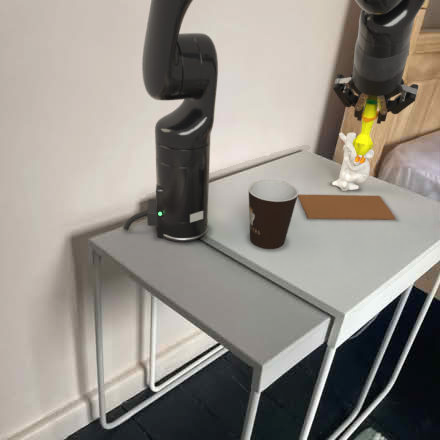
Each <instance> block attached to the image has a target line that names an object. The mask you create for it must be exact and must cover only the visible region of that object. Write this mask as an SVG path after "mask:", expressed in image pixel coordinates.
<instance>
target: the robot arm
mask: <svg viewBox="0 0 440 440" xmlns="http://www.w3.org/2000/svg"><path fill="white" fill-rule="evenodd" d="M193 1H194V0H150V4H149V5H150V6H149V12H148V17H147V23H146V29H145V34H144V42H143V48H142V57H141V58H142V59H141V72H142V81H143V86H144V88H145V91H146V93H147V94H148V95H149V97H150V98H151V99H153V100H155V101H162V102H164V101H165V102H166V101H167V102H169V101H179V100H182V102H181V103H180V104H179V105H178V107H177V108H176V109H174V110H173V111H171V112H169V113H168V114H165V115H164V116H162V117H161V118H159V119H158V120H157V122H155V126H154V142H155V143H154V144H155V145H154V146H155V175H156V177H155V179H156V184H155V199H154V198H153V199H149V198H148V202H147V209H146V210H144V211H142V212H138V213H135V214H134V215H132V216H131V217H129V218H128V219H127V221H126V222H125V224H124V225H123V229H124V230H126V231H128V230H129V228H130V227H131V226H132V224H133V223H134V222H135V221H138V220H139V219H141V218H144V217H147V226H149V227H150V226H154V227H156V236H157V238H159V239H161V238H162V239H166V240H168V241H172V242H175V243H190V242H195V241H198V240H200V239H202V238H204V237H205V236H206V235H207V234H208V231H209V229H208V228H209V225H208V223H209V220H208V219H209V218H208V215H209V193H210V192H209V190H210V189H209V188H210V163H211V162H210V161H211V159H210V158H211V137H212V130H213V128H214V123H215V112H216V111H215V110H216V100H217V89H218V80H219V79H218V78H219V59H218V53H217V48H216V45H215V43H214V41H213V40H212V38H211V37H210V36H209V35H207V34H206V33H203V32H201V33H200V32H192V33H191V32H188V33H186V32H184V33H183V32H182V33H180V31H181V28H182V24H183V22H184V19H185V16H186V14H187V11H188V10H189V8H190V7H191V4H192V3H193ZM354 1H355V2H356V4H357V5H358V6H359V8H360V14H359V20H358V30H357V31H358V32H357V38H356V41H355V44H354V54H353V66H352V73H350V76H349V77H345V76H344V74H341V73H337V74H336V77H335V80H334V85H333V89H332V90H333V91H334V93H335V94H336V96H337V97H338V99H339V100H340V102H341V103H342V105H343V106H344V107H346V108H351V107H353V108H354V112H353V117H354V118H355V119H356V118H357V119H356V121H358V122H362V113H363V112H364V107H365V103H366V100H374V101H377V102H378V103H377V104H378V111H379V113H378V117H377V119H376V124H378V125H381V123H382V122H386V120H387V116H388V113H391V114H392V115H398V114H400V113H401V112H402V111H403V110H405V109H406V108H407V107H409V106H410V105H411V104H413V103H414V102H416V98H417V96H418V91H419V86H420V85H418V84H416V83H413V84H410V85H407V84H405V80H404V79H403V76H404V72H405V70H406V69H405V68H406V64H407V60H408V57H409V55H410V47H411V36H412V33H413V28H414V25H415V19H416V18H417V15H418V14H419V12H420V10H421V9H422V7H423V5H424V4H425V2H426V0H354ZM392 98H394V99H392Z"/></svg>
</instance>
